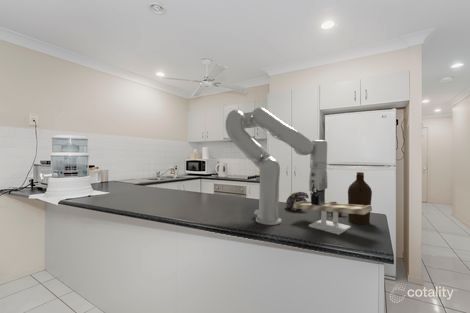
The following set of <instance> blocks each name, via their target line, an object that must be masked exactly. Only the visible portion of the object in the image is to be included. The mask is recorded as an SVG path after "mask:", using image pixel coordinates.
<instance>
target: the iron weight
mask: <svg viewBox="0 0 470 313" xmlns="http://www.w3.org/2000/svg"><path fill="white" fill-rule="evenodd" d="M315 193H316V191H315ZM310 196H311V192H310ZM324 203H325V191H324V192H318V206H322V205H324ZM311 205H315V204H311Z"/></svg>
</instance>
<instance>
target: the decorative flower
mask: <svg viewBox="0 0 470 313" xmlns="http://www.w3.org/2000/svg"><path fill="white" fill-rule="evenodd" d="M307 199H309V194H308V193H307V192H304V191H298V192H294V193H291V194H290V195H289V196H288V197H287V198H286V200H285V201H286V202H285V203H286V204H285V210H287V211H289V210H290V211H291V212H293V213H296V212H297V210H299V211H301V210H302V209H298V208H294V204H295V203H296V202H300V201H308V200H307Z"/></svg>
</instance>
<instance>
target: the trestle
mask: <svg viewBox="0 0 470 313" xmlns="http://www.w3.org/2000/svg"><path fill="white" fill-rule="evenodd" d="M320 213H321V214H320V219H319V220H317V221H314V222H312V223H310V224H308V227H310V228H313V229H316V230H320V231H324V232H328V233H332V234H335V235H340V234H343V233H344V232H346V231H348V230H350V229H351V228H352V226H351V225H348V224H343V223H339V216H338V212H333V217H332V221H331V220H327V219H328V218H327V216H328V215H327V213H328V212H326V211H320Z"/></svg>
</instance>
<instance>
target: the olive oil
mask: <svg viewBox="0 0 470 313" xmlns="http://www.w3.org/2000/svg"><path fill="white" fill-rule="evenodd" d="M364 174H365V172H362V171H361V172H359V171H357V172H356V176H355V177H356V178H355V180H354V181H353V182H352V183H351V184H349V187H348V189H347V201H348V202H347V204H353V205H371V204H372V196H373V191H372V188H371V187H370V185H369V184H368V183H367V182H366V181H365V175H364ZM371 206H372V205H371ZM347 214H348V215H347V216H348V218H347V219H348V222H350V223H352V224H356V225H365V226H366V225H369V224H370V219H371V218H370V217H371V211H370V212H369V213H367V214H365V215H361V214H351V213H347Z"/></svg>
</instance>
